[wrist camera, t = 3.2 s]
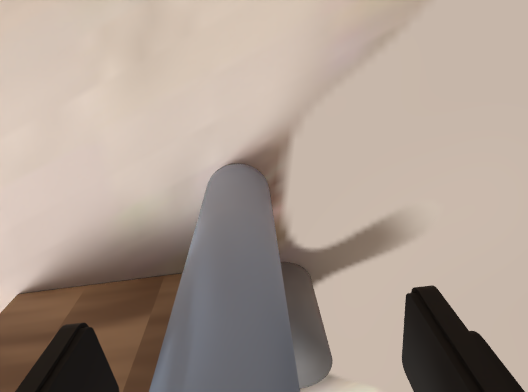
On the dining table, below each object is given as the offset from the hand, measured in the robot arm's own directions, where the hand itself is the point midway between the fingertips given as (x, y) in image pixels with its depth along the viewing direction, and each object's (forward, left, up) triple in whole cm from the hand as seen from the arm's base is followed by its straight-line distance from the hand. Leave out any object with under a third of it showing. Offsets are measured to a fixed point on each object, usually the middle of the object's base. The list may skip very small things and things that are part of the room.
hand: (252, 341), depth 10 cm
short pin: (+7, +1, -10) cm, 12 cm away
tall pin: (0, -1, -10) cm, 10 cm away
